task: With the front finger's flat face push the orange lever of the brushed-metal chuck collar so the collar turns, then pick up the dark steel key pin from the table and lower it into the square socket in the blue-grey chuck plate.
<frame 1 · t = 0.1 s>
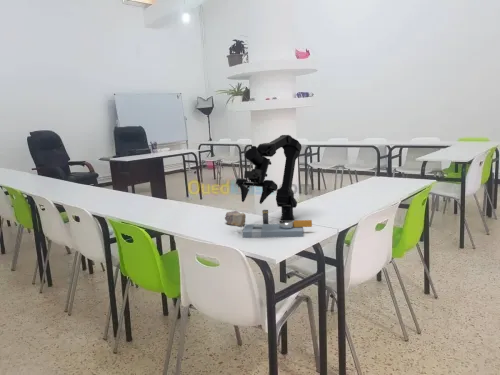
hand: (251, 202, 168), 15 cm above the table, tool tilted 35°, fingers open, 9 cm apart
chuck plate: (273, 232, 173), on the table
mineral specimen: (236, 224, 191), on the table
key pin: (265, 226, 183), on the table
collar: (295, 223, 171), point 4 cm above the table, hinge at 0.0°
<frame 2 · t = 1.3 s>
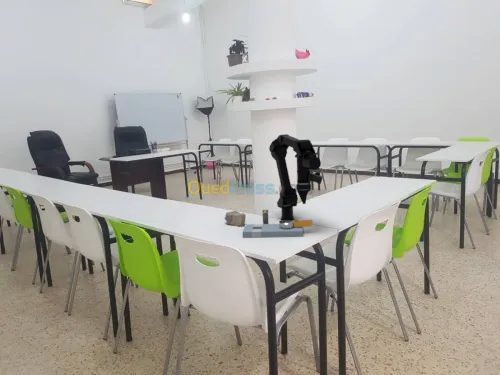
hand: (304, 201, 178), 12 cm above the table, tool pointing down, fingers open, 9 cm apart
nothing on the table moved.
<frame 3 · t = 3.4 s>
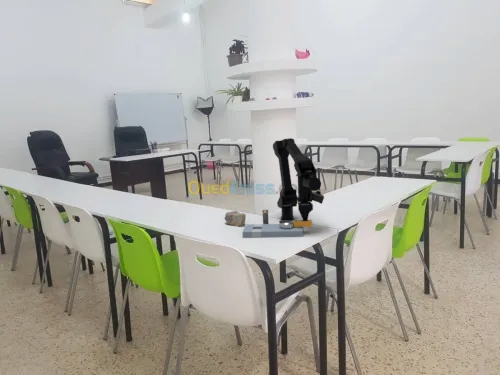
hand: (305, 220, 177), 4 cm above the table, tool pointing down, fingers open, 8 cm apart
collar: (295, 223, 171), point 4 cm above the table, hinge at 0.7°, touching gripper
everything else where it was.
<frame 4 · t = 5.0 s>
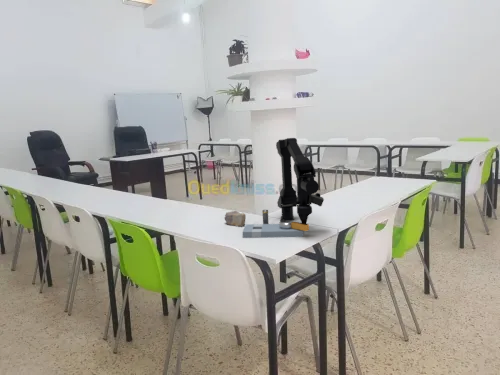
hand: (304, 223, 172), 4 cm above the table, tool pointing down, fingers open, 8 cm apart
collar: (293, 225, 169), point 4 cm above the table, hinge at 35.2°, touching gripper
everything else where it was.
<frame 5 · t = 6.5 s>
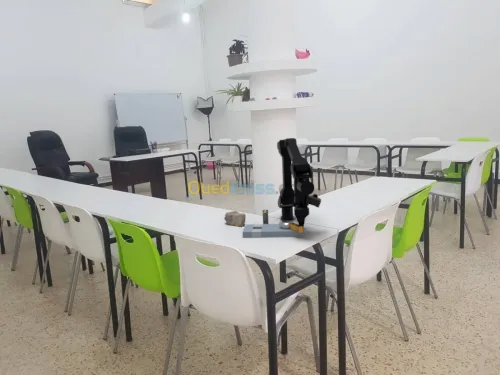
hand: (301, 225, 170), 4 cm above the table, tool pointing down, fingers open, 9 cm apart
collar: (291, 225, 168), point 4 cm above the table, hinge at 56.9°
everything else where it was.
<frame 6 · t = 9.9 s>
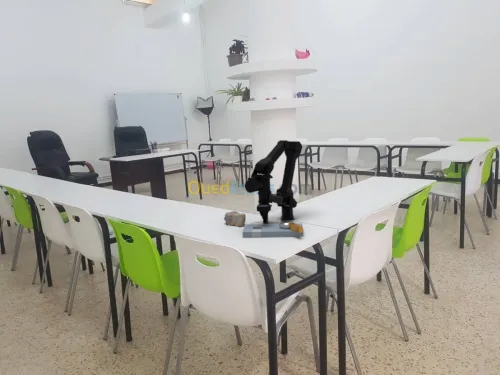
hand: (265, 221, 183), 3 cm above the table, tool pointing down, fingers closed on key pin, 3 cm apart
key pin: (265, 226, 183), on the table, touching gripper
everything else where it was.
when the fingers open (4 cm above the table, at t = 13.4 s): key pin drops 2 cm, resting in chuck plate.
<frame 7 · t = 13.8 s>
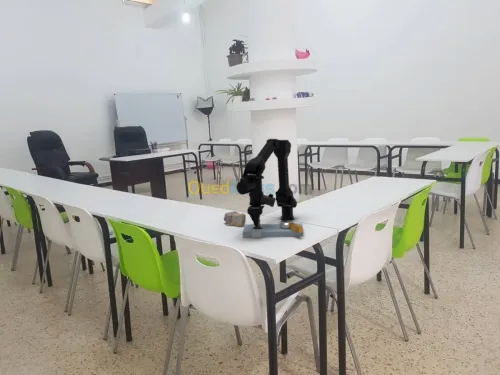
hand: (257, 224, 173), 4 cm above the table, tool pointing down, fingers open, 7 cm apart
key pin: (257, 233, 174), resting in chuck plate
everything else where it was.
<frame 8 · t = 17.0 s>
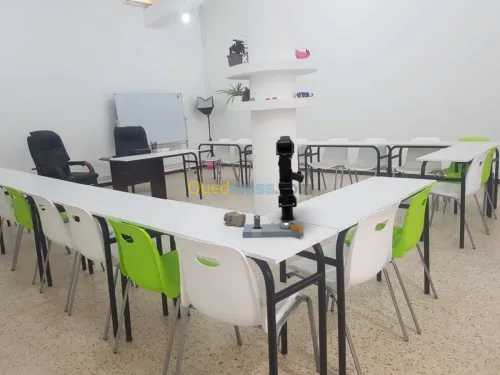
hand: (286, 200, 180), 13 cm above the table, tool pointing down, fingers open, 9 cm apart
at the end: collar at +57° (first picture: +0°); key pin 0.0 cm from the target spot, resting in chuck plate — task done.
